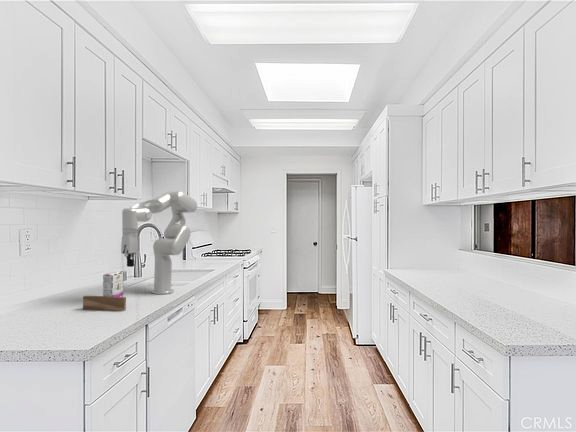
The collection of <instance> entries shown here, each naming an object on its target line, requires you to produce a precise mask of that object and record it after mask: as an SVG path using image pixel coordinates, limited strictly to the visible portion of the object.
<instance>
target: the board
mask: <svg viewBox="0 0 576 432" xmlns="http://www.w3.org/2000/svg"><path fill="white" fill-rule="evenodd" d="M126 309H127V296H123V297H108V296H103V295H84V296H82V310H96V311H116V312H118V311H119V312H125V311H126Z"/></svg>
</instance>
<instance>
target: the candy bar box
mask: <svg viewBox="0 0 576 432" xmlns="http://www.w3.org/2000/svg"><path fill="white" fill-rule="evenodd" d="M102 296H108V297H124V271H113V272H110V273H109V272H108V273H105V274H103V275H102Z"/></svg>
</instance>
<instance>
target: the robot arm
mask: <svg viewBox="0 0 576 432" xmlns="http://www.w3.org/2000/svg"><path fill="white" fill-rule="evenodd" d="M170 207H171V213H172V217H171V220H170V222H169V223H168V225H167V226H166V228H165V229H164V231H163V237H164V238H163V237H161V238H158V239H156V240H155V241H154V242H153V245H152V247H153V255H154V274H153V275H154V279H153V282H154V283H153V289H151V291H150V292H151V294H154V295H167V294H172V293H174V291H175V290H174V289H172V286H173V284H172V265H173V263H172V258H171V256H178V255H181V253H182V252H183V250H184V249H185V248H186V245H187V244H188V242H189V240H190V238H191V229H190V228H189V226H188V225H186V223H187V222H186V218H185V216H184V213H185V214H186V213H188V214H189V213H190V214H191V213H195V212H196V211H197V209H198V203H197V201H196V199H194V198H193V197H192V196H190V195H188V194H187V193H185V192H183V191H181V190H178V191H175V190H173V191H172V190H171V191H166V192H164V193H162V194H160V195H158V196H156V197H155V198H152V199H148V200H145V201H142V202H139V203H137V204H134V205H132V206H130V207H129V208H123V209H122V211H121V215H122V217H121V221H122V223H121V225H122V227H121V228H122V231H121V232H122V235H121V243H120V244H121V245H120V247H121V248H120V251H121V252H120V253H121V254H123V255H124V257H126V267H131V268H132V267H135V256H136V254H137V252H138V250H139V242H138V241H139V240H138V233H139V229H138V228H139V227H138V226H139V225H138V222H139V223H142V222H143V223H145V222H148V221H150V220H151V218H152V217H153V214H157V213H158V214H159V213H162V212H163V211H165V210H166V209H168V208H170Z"/></svg>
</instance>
